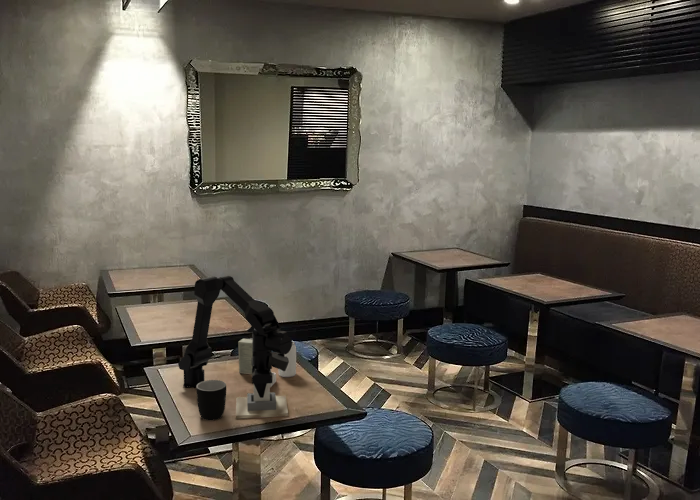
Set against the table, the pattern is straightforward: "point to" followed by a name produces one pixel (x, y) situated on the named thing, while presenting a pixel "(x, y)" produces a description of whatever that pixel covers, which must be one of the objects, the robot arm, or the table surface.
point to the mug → (211, 399)
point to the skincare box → (245, 356)
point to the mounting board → (243, 413)
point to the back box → (261, 403)
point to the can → (290, 363)
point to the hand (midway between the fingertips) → (261, 394)
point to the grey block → (266, 394)
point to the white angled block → (273, 378)
